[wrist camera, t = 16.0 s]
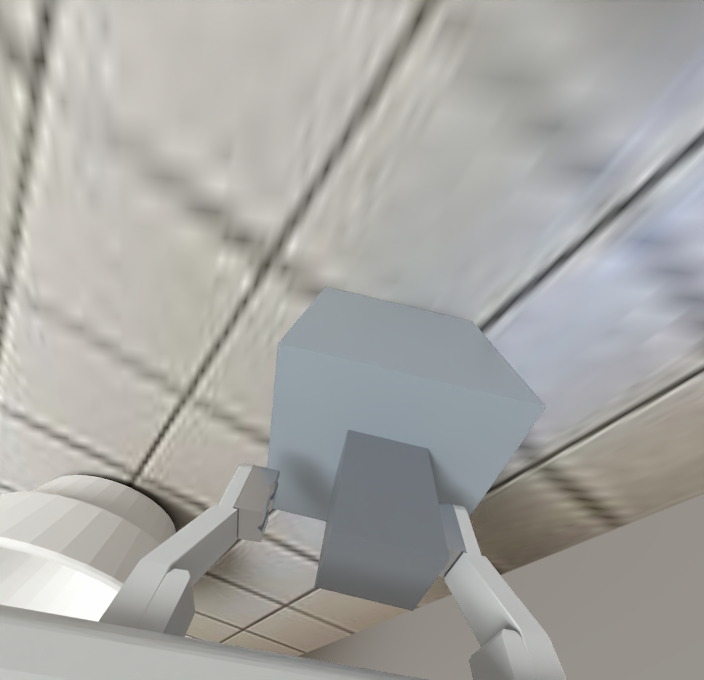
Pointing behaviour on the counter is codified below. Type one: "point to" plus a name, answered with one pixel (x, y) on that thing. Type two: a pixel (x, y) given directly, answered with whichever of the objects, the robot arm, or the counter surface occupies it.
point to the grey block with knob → (389, 436)
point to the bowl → (75, 544)
